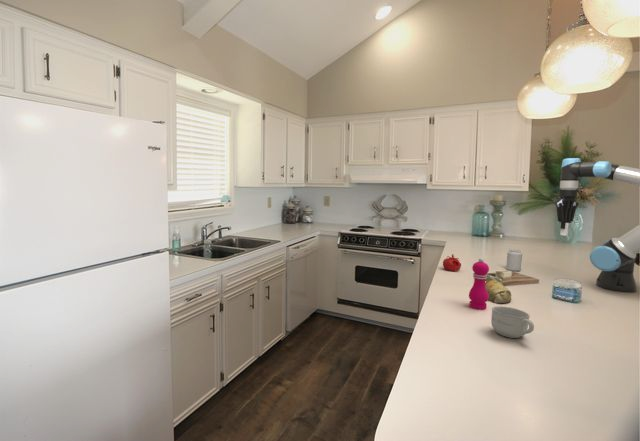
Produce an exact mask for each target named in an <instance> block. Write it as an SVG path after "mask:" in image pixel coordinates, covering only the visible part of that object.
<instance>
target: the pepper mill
mask: <svg viewBox="0 0 640 441" xmlns="http://www.w3.org/2000/svg"><path fill="white" fill-rule="evenodd" d="M484 261H485V260H484V258H483V257H480V258H478V261H477V262H475V263H473V264H472V268H471V269H472V271H473V273H472V274H473V275H472V277H473V279H474V281H473V285H472V286H471V288H470V290H469V292H468V298H469V305H468V306H469V307H470V308H472V309H474V310H480V311H482V310H483V311H484V310H487V307H488V306H487V301H489V300H488V299H489V297H488V292H487V290H486V287H485V283H486V281H485V280H486V279H487V275H486V274H487V273H489V271H490V266H489V264H487V263H486V262H484Z"/></svg>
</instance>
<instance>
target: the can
mask: <svg viewBox="0 0 640 441" xmlns="http://www.w3.org/2000/svg"><path fill="white" fill-rule="evenodd" d="M506 255H507V256H506V270H507V271H509V272H520V271H521V270H522V259H523V252H522V251H521V250H520V249H509V251H507V253H506Z"/></svg>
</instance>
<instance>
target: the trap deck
mask: <svg viewBox="0 0 640 441" xmlns="http://www.w3.org/2000/svg"><path fill="white" fill-rule="evenodd" d="M511 272H512V276H511V280H508V281H502V279H499V278H496V277H495V276H496V272H488V273H487V274H486V275H487V279H486V280H485V283H486V282H487V281H489V280H494V281H497V282H500V283H502V284H503V286H504V287H508V286H509V287H510V286H521V285H522V286H523V285H532V284H533V285H534V284H540V279H539V278H536V277H533V276H530V275H526V274H522V273H519V272H517V271H511Z"/></svg>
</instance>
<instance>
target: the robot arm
mask: <svg viewBox="0 0 640 441" xmlns="http://www.w3.org/2000/svg"><path fill="white" fill-rule="evenodd" d="M561 162H562V163H561V167H560V179H559V180H560V181H559V192H558V196H559V197H560V199H559V201H558V202H555V207H556V214H557V221H558V222H559V223H560V234H559V235H560V236H565V237H566V236H567V237H568V235H569V234H568V233H569V228H570V224H571V223H572V222H573V221H574V219H575V215H576V211H577V209H578V206H579V203H578V202H576V199H575V198H577V197H578V190H577V189H579V181H580V180H579V178H595V179H596V178H597V179H604V180H605V179H606V180H610V181H614V182H619V183H624V184H628V185H633V186H638V187H640V168H636V167H631V166H626V165H619V164H614V163H611V162H610V161H608V160H607V161H605V160H604V161H603V160H599V161H581V158H579V157H576V158H575V157H569V158H563V160H562V161H561ZM638 252H640V224H638V225H637V226H635V227H633V228H632V229H631V230H629V231H627V232H626V233H624V234H623V235H622V236H620V237H611V238H610V239H609V240H606V241H605V242H604V243H603V244H602V245H599V246H596V247H594V248H593V249H592V250H591V251H590V253H589V260H590V262H591V264H592V266H593V267H594V268H596V269H598V270H599V271H600V273H599V275H598V277H597V278H596V280H595V281H596V282H595V285H596V286H598V287H599V288H603V289H605V290H612V291H616V292H617V291H618V292H625V293H635V292H637V288H638V286H637V284H636V283H637V282H636V280H635V276H634V270H635V263H636V258H637V253H638Z"/></svg>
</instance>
